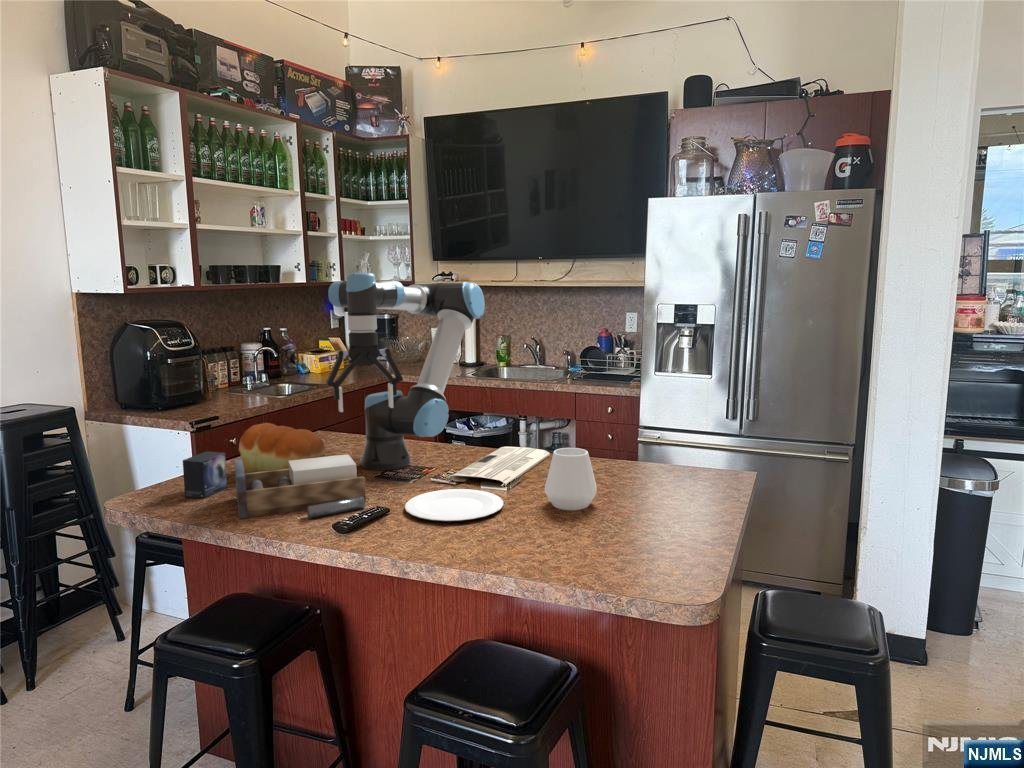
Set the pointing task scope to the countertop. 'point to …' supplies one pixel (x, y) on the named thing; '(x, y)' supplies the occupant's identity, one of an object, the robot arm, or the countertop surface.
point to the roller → (335, 507)
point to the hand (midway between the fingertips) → (366, 409)
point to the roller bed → (288, 492)
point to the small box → (204, 474)
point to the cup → (570, 479)
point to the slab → (321, 469)
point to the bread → (277, 447)
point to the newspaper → (503, 464)
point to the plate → (454, 505)
